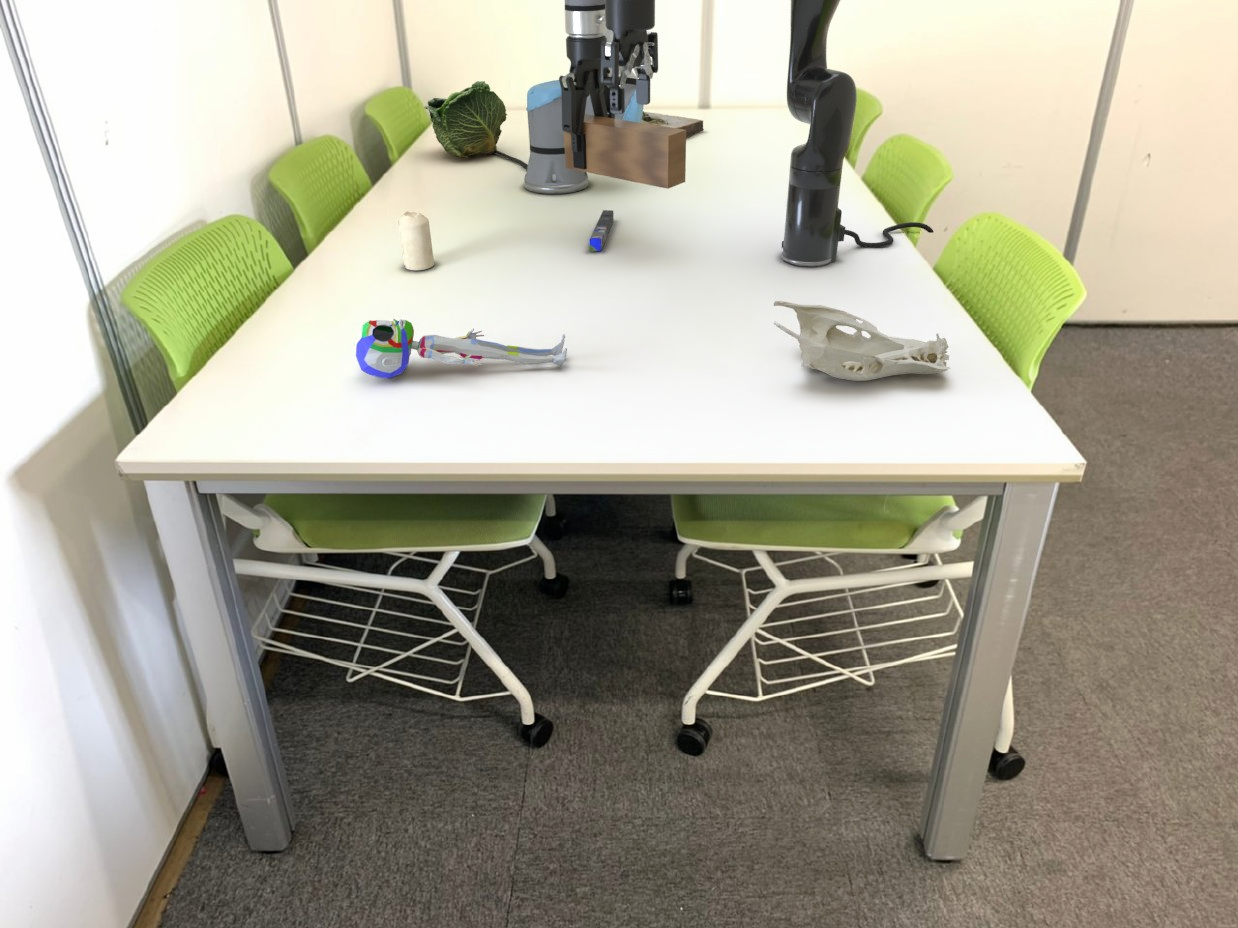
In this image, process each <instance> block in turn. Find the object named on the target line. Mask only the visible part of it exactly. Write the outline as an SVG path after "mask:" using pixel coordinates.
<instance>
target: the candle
mask: <svg viewBox="0 0 1238 928" xmlns="http://www.w3.org/2000/svg"><path fill="white" fill-rule="evenodd" d="M397 224H398V232H399V238H400V244H401V251H402V257H403V258H402V259H403V264H404V267H405V269H407V270H410V271H422V270H423V271H424V270H427V269H431V268H432V267H433V266H434V265H435V259H434V252H433V250H434V249H433V244H432V236H431V228H430V227H431V226H430V220H429V218H428V217H427V216H425V215H424V214H423V213H421V212H414V211H405V213H403V214H402V215H401V217H400V218H399V220H398V221H397Z"/></svg>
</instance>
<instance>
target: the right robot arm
mask: <svg viewBox="0 0 1238 928" xmlns="http://www.w3.org/2000/svg"><path fill="white" fill-rule="evenodd" d="M840 2H841V0H790V39H789V41H790V42H789V55H788V57H789V58H788V68H787V78H786V79H787V80H786V81H787V82H786V104H787V108H788V111H789V113H790V114H791V116H792V117H793V119H796V121H799V122H800V123H804V124H807V125H809V131H808V137H807V141H806V142H805V143H804V144H799V145H797V146H794V147H793V149H792V150H791V153H790V161H789V175H788V185H787V186H788V187H787V189H788V190H787V198H786V209H785V210H786V211H785V221H784V231H783V241H781V249H782V251H781V259H782V260H783V261H784V262H786V263H788V264H790V265H793V266H794V265H795V266H799V267H820V266H821V267H822V266H824V265H828V264H830V263H832V262H836V261H837V257H838V256H837V255H838V247H839V242H844V241H845V236H849V237H851V238H853V239H854V242H855V244H856V245H857V246H859V247H861V248H870V249H871V248H873V249H875V248H882V247H883V248H884V247H887V246H891V245H892V244H893V243H894V237H893V236H892V235H891V232H894V231H897V230H901V229H906V228H919V229H922V230H924V231H926V232H927V233H929V234H932V233H934V229H933V228H932V227H931V226H929V225H928V224H926V223H922V222H916V221H913V222H911V221H909V222H903V223H899V224H895V225H892V226H888V227H886V228H884V229H883V230H882V236H883V237H884V238H885V239H886V240H884V241H879V242H867V241H862V240H861V238H860V236H859V234H858V233H856V232H855V231H852V230H849V229H846V227H845V225H842V224H841V223H842V212H843V211H842V209H840V208H839V202H840V201H839V200H840V193H841V182H842V174H843V166H844V159H845V157H846V155H847V153H848V151H849V149H850V148H849V147H850V145H851V140H852V134H853V128H854V121H855V115H856V110H857V100H858V94H857V93H858V92H857V86H856V83H855V81H854V78H853V77H852V76H851V75H849V73H846V72H844V71H841V70H836V69H830V68H828V62H827V48H828V47H827V45H828V34H829V31H830V29H829V28H830V26H831V23H832V20H833V18H834V15H835V13H836V11H837V9H838V7H839V4H840ZM605 25H606V28H607V29H609V30H612V31H613V41H612V42H606V41H603V42H602V43H601V84H602V85H606V86H607V87H609V89H610V112H611V113H612V114H623V113H624V112H625V90H624V85H625V82H626V78H627V76H628V75H630V74H631V71H632V72H633V70H634V74H635V75H636V77H637V78H638V79H636V102H637V103H638V104H642V105H644V106H648V105H649V104H650V103H651V80H652V79H653V77H654V74H657V73H658V72H659V38H658V37H659V36H658V32H656V31H655V32H654V31H650V30H653V29H654V28H655V26H656V0H605ZM610 58H611V59H610ZM607 68H608V69H609V70H610V73H609V77H608V76H607ZM619 74H620V78H619Z"/></svg>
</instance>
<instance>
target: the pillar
mask: <svg viewBox="0 0 1238 928" xmlns="http://www.w3.org/2000/svg"><path fill="white" fill-rule="evenodd" d="M614 216H615V215H614V210H613V209H612V210H611V209H602V212H601V214H600V216H599V219H598V221H597V222H596V225H595V227H594V229H593V231H592V234H591V236H590V237H589V241H588V243H589V244H588V245H589V246H588V247H589V248H588V250H589V252H601V251H602V249H603V247H604V245H605V242H606V239H607V237H608V235H609V232H610V231H611V228H612V226H613V223H614Z"/></svg>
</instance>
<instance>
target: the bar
mask: <svg viewBox="0 0 1238 928" xmlns="http://www.w3.org/2000/svg"><path fill="white" fill-rule="evenodd" d="M576 127H577V126H576ZM582 133H583V134H585V139H586V167H587V169H579V168H574V164H573V151H572V149H571V134H570V133H567V132H565V131H564V146H565V165H566V168H568V169H573V170H578V171H583V172H586V173H587V174H588V173H589V174H593V175H599V176H603V177H608V178H613V179H618V180H622V181H627V182H633V183H638V184H644V185H647V186H652V187H656V188H663V189H668V190H669V189H671V188H674V187H676V186H678V185H680V184H684V183H685V182H686V165H687V164H686V163H687V161H686V160H687V138H686V130H683V129H677V128H671V127H664V126H658V125H652V124H645V123H639V122H633V121H626V120H620V119H614V118H607V117H601V116H595V115H588V114H585V116H584V123H583V130H582Z"/></svg>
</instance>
